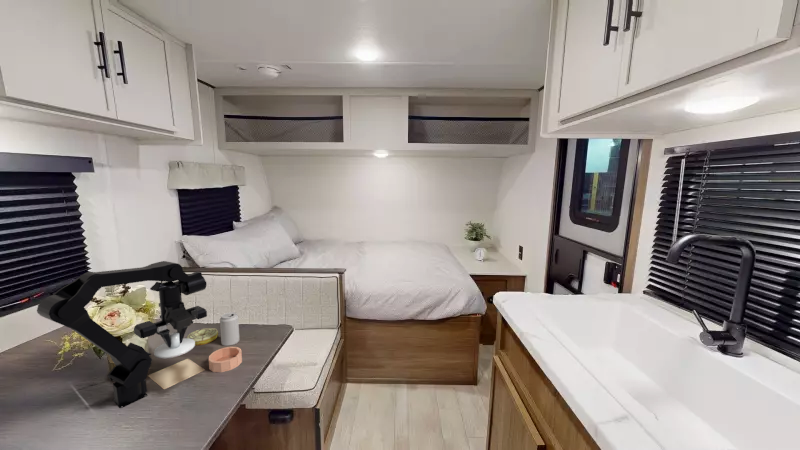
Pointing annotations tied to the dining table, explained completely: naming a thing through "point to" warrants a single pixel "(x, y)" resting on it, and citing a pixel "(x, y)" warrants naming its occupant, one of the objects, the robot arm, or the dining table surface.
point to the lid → (174, 347)
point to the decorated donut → (203, 336)
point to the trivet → (175, 373)
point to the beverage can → (229, 328)
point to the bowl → (225, 359)
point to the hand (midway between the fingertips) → (174, 344)
